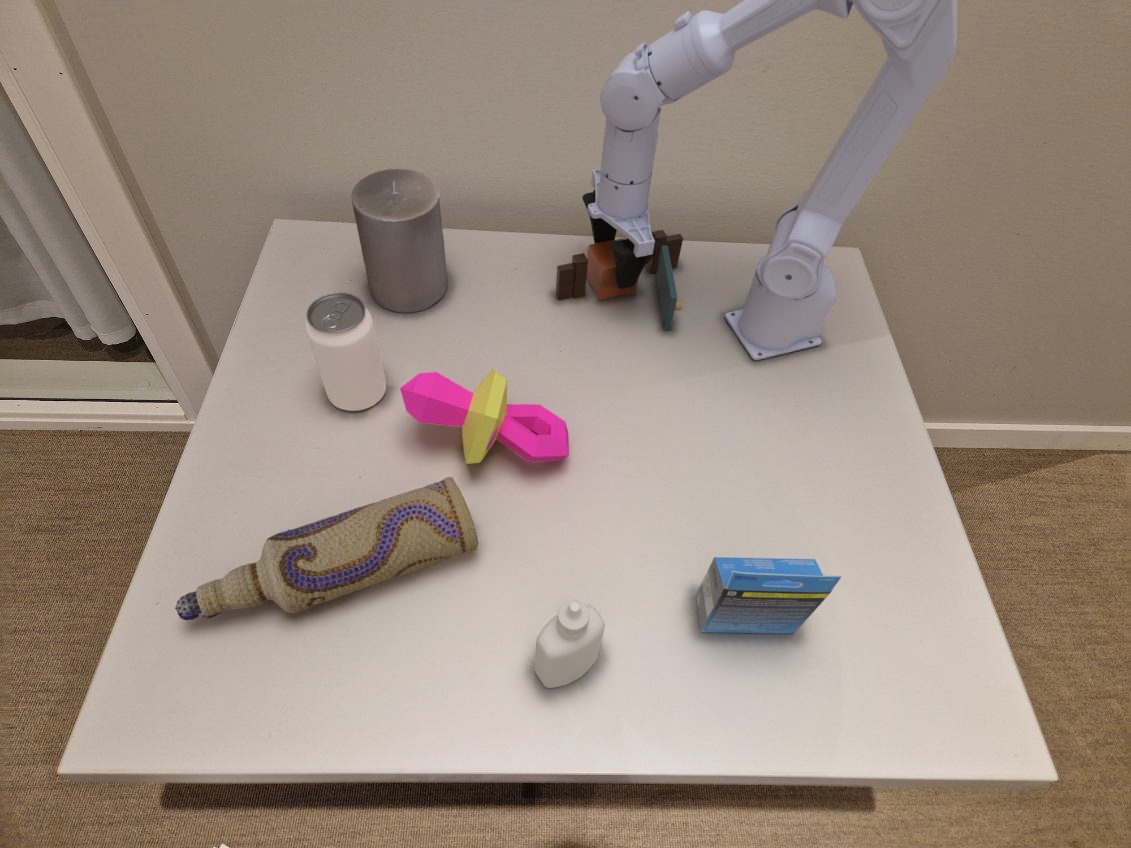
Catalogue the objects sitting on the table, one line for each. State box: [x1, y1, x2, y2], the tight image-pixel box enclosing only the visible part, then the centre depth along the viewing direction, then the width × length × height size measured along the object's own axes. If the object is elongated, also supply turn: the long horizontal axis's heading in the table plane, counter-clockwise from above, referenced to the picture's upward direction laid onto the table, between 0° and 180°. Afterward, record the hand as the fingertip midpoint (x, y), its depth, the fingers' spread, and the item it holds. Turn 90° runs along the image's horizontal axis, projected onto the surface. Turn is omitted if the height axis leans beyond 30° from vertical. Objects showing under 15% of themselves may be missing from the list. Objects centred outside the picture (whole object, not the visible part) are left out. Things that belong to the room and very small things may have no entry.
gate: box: [555, 229, 684, 301], centre depth 92 cm, size 2×17×6 cm, turn 117°
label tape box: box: [695, 556, 842, 634], centre depth 62 cm, size 9×4×12 cm, turn 90°
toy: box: [399, 368, 570, 465], centre depth 74 cm, size 10×18×10 cm, turn 82°
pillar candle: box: [351, 168, 448, 314], centre depth 85 cm, size 10×10×15 cm
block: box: [586, 237, 639, 301], centre depth 91 cm, size 5×5×5 cm
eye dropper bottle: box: [534, 599, 606, 689], centre depth 59 cm, size 4×6×12 cm
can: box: [305, 291, 387, 412], centre depth 76 cm, size 6×6×12 cm
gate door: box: [655, 246, 683, 330], centre depth 89 cm, size 2×10×5 cm, turn 2°
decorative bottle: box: [174, 476, 479, 621], centre depth 65 cm, size 26×8×7 cm, turn 113°
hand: (614, 266), depth 91 cm, fingers open, 7 cm apart
